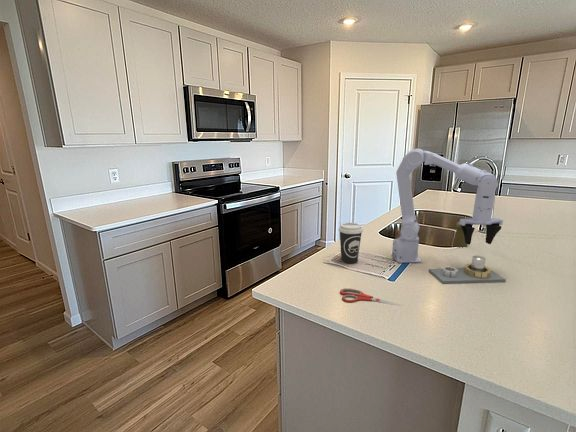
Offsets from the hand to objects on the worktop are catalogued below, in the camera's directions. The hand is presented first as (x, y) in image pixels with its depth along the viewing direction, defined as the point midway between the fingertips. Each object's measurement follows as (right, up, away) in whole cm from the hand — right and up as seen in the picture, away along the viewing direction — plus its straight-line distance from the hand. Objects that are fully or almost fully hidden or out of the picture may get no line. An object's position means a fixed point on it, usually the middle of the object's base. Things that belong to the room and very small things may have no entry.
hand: (477, 243), depth 114 cm
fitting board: (-6, -12, -3) cm, 13 cm away
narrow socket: (-12, -12, -3) cm, 17 cm away
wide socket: (-2, -11, -3) cm, 12 cm away
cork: (+9, -4, +28) cm, 29 cm away
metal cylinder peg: (-2, -10, -3) cm, 11 cm away
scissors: (-43, -16, -17) cm, 49 cm away
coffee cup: (-45, -8, +12) cm, 47 cm away
